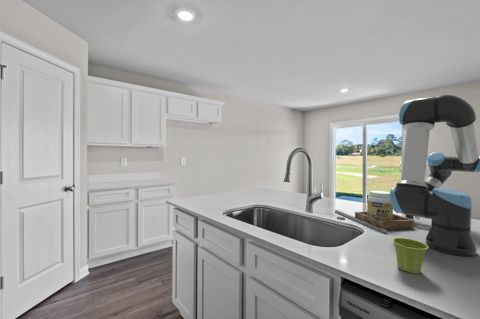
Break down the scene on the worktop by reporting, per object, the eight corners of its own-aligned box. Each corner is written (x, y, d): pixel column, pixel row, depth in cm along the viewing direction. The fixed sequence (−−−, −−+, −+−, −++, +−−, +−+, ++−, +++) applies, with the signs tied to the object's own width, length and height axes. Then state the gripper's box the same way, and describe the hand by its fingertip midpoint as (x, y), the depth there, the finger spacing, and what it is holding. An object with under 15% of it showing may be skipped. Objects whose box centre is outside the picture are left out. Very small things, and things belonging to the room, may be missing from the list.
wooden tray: (429, 227, 120) (430, 204, 119) (381, 229, 114) (382, 205, 114) (397, 217, 139) (397, 197, 139) (354, 218, 134) (355, 198, 133)
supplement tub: (369, 224, 124) (370, 192, 124) (364, 218, 136) (365, 189, 135) (395, 226, 121) (396, 194, 120) (388, 220, 132) (389, 190, 132)
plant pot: (411, 262, 81) (412, 237, 80) (435, 276, 71) (436, 248, 71) (385, 262, 80) (386, 237, 80) (405, 276, 71) (406, 248, 71)
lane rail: (387, 233, 110) (387, 230, 110) (384, 233, 110) (384, 230, 110) (336, 212, 149) (336, 209, 149) (334, 212, 149) (334, 210, 149)
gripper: (456, 195, 119) (431, 226, 117) (413, 188, 143) (391, 213, 141) (448, 185, 118) (422, 215, 116) (406, 179, 142) (384, 205, 140)
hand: (405, 214), depth 128 cm, fingers open, 12 cm apart
